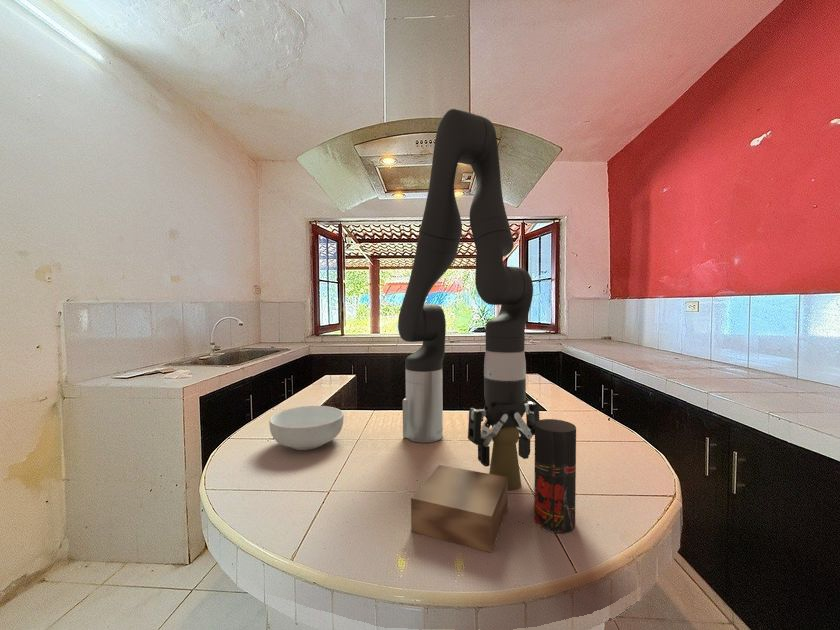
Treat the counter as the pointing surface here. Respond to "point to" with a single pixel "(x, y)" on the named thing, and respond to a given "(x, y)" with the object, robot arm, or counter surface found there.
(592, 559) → the counter surface
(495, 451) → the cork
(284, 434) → the cereal bowl
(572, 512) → the deodorant
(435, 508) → the walnut block
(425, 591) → the counter surface
